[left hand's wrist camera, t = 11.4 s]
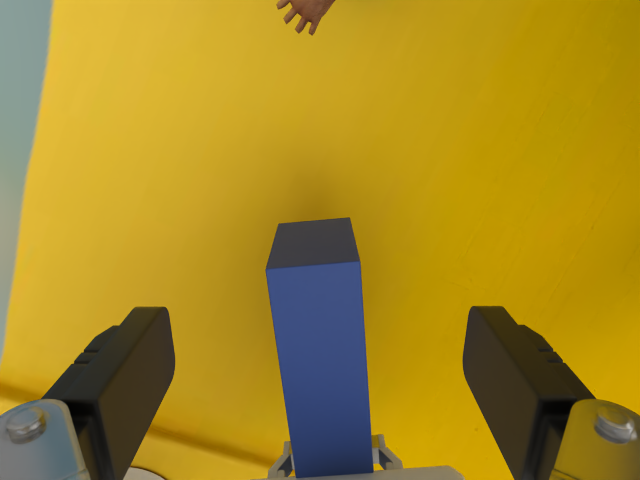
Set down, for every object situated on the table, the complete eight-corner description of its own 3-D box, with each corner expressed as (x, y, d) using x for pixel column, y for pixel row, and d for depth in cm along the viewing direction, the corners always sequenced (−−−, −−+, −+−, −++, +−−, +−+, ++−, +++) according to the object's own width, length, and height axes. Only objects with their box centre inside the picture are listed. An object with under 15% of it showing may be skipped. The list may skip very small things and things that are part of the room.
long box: (278, 223, 37) (265, 269, 28) (349, 217, 37) (360, 260, 28) (305, 435, 45) (302, 524, 36) (364, 430, 45) (376, 519, 36)
